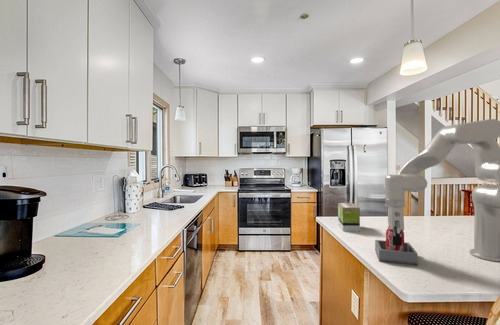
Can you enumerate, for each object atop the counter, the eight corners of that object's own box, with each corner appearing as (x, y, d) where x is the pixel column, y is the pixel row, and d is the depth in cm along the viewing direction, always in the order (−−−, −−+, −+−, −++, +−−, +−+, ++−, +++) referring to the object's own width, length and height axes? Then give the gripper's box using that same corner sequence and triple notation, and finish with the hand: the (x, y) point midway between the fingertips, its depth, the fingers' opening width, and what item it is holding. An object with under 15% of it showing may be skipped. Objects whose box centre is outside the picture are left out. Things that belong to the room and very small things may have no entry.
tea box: (337, 225, 169) (337, 202, 169) (353, 225, 168) (353, 202, 167) (342, 231, 154) (342, 206, 154) (360, 232, 153) (360, 207, 153)
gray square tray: (409, 253, 118) (409, 242, 118) (417, 265, 105) (417, 253, 105) (375, 250, 123) (375, 239, 123) (379, 261, 110) (379, 249, 110)
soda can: (406, 258, 110) (406, 230, 110) (388, 257, 111) (388, 229, 111) (400, 252, 117) (400, 226, 117) (383, 251, 118) (383, 225, 118)
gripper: (409, 207, 104) (409, 249, 104) (400, 200, 120) (400, 236, 121) (388, 206, 107) (388, 247, 107) (382, 199, 123) (382, 235, 123)
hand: (394, 241), depth 114 cm, fingers open, 9 cm apart
